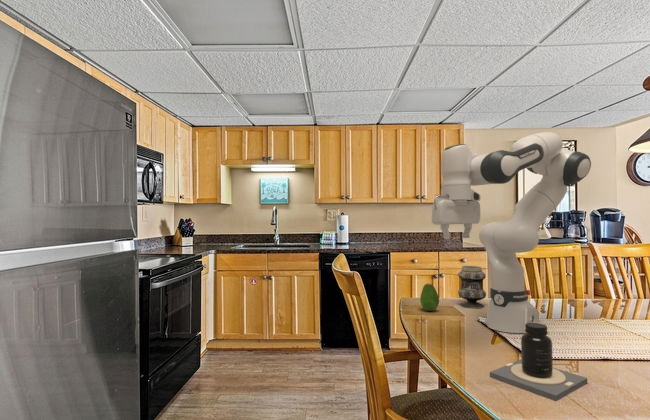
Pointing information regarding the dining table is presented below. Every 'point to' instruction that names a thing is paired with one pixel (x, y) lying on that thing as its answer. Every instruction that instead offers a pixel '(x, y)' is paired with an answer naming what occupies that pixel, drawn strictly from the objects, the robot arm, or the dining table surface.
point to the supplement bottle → (536, 351)
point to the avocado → (429, 298)
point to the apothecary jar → (472, 286)
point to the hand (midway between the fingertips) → (456, 238)
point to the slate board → (540, 381)
